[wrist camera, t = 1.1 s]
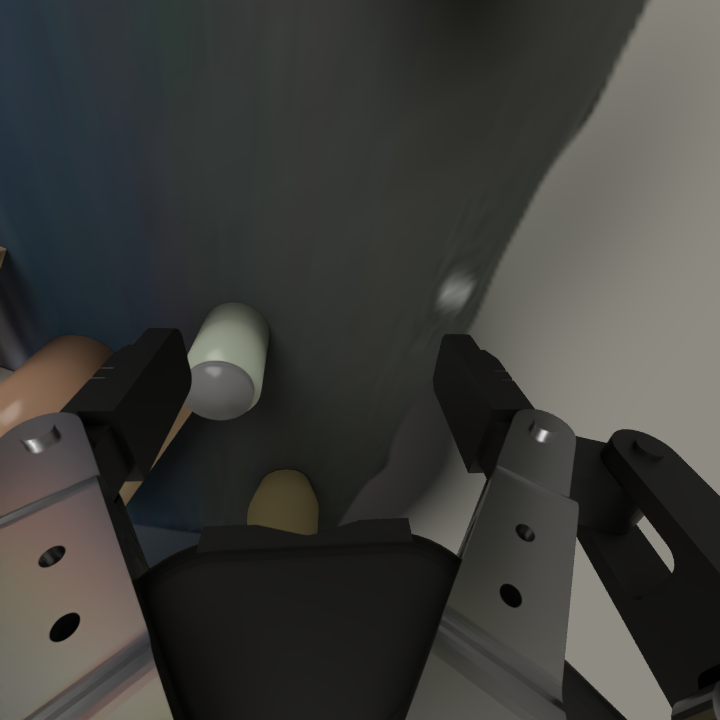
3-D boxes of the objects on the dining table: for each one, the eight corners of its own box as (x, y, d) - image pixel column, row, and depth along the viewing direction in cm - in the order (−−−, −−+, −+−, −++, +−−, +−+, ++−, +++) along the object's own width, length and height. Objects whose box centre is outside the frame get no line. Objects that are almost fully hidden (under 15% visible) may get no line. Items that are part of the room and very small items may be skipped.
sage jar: (193, 338, 30) (159, 405, 23) (223, 290, 28) (196, 347, 21) (249, 366, 33) (235, 435, 25) (281, 324, 31) (275, 385, 23)
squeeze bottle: (237, 483, 42) (202, 679, 27) (287, 452, 40) (280, 643, 25) (282, 510, 46) (274, 691, 31) (330, 482, 44) (345, 661, 29)
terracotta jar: (33, 372, 30) (-67, 465, 22) (54, 322, 28) (-49, 405, 20) (109, 400, 33) (44, 493, 24) (133, 356, 30) (71, 442, 22)
